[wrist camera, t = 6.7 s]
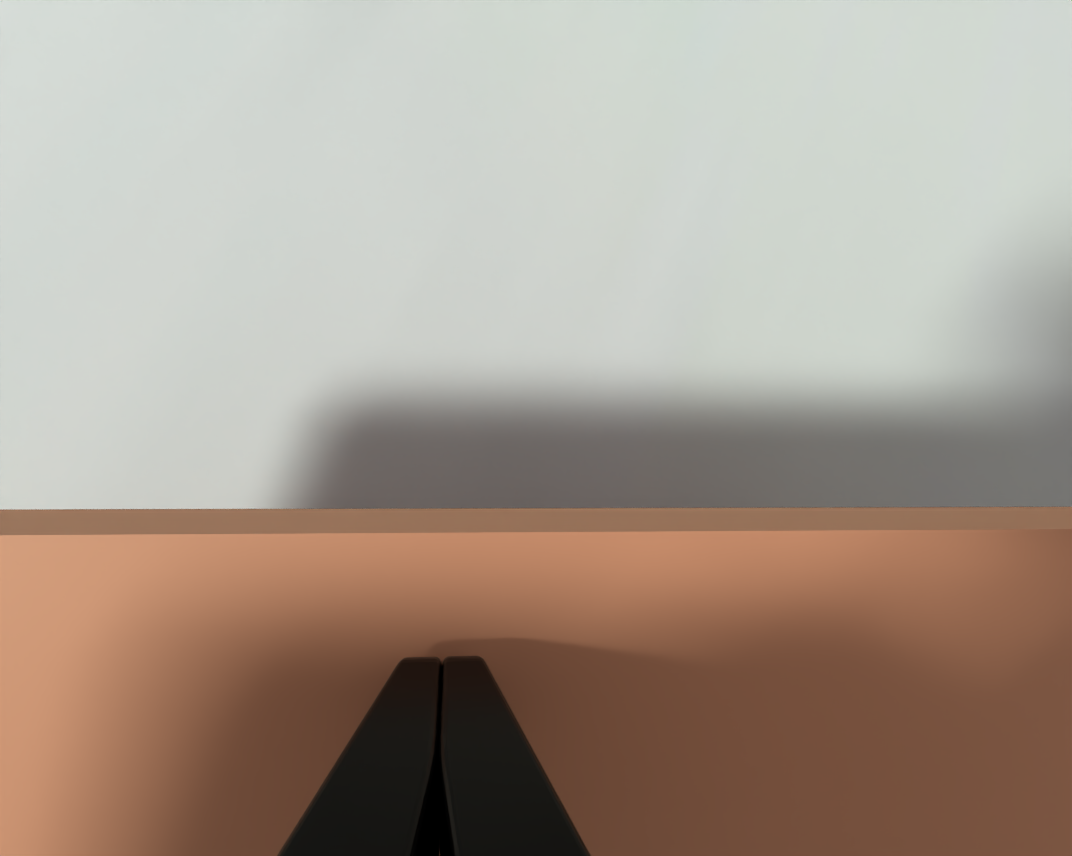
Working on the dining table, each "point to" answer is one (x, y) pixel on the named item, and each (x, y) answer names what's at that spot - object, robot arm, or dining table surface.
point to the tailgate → (548, 671)
